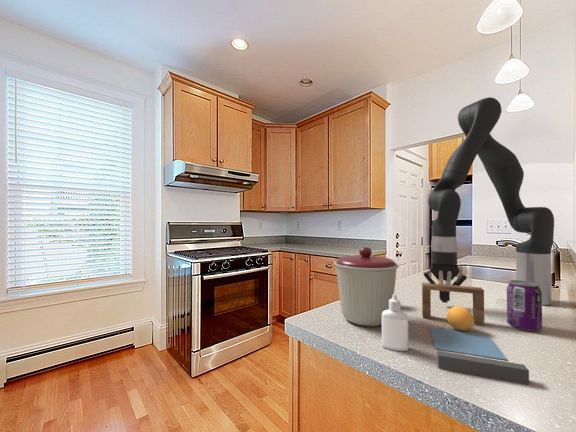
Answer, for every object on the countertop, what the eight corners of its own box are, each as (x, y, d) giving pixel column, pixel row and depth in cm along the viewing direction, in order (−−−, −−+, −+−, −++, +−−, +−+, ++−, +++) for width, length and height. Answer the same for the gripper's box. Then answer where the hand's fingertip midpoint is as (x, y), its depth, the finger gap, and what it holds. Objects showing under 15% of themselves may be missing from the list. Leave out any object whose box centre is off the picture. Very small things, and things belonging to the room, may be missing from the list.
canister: (367, 338, 66) (366, 252, 66) (321, 315, 81) (321, 245, 82) (413, 324, 75) (413, 248, 75) (364, 306, 91) (364, 243, 91)
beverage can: (549, 334, 68) (548, 286, 68) (517, 332, 70) (516, 285, 70) (530, 323, 75) (529, 280, 75) (501, 321, 77) (501, 279, 77)
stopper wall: (437, 363, 55) (437, 350, 55) (524, 378, 49) (524, 364, 49) (438, 368, 53) (438, 355, 53) (529, 384, 47) (528, 370, 47)
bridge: (422, 314, 82) (422, 282, 82) (481, 321, 76) (480, 287, 77) (423, 318, 79) (422, 285, 79) (484, 325, 74) (484, 290, 74)
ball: (444, 311, 76) (446, 301, 72) (469, 313, 74) (473, 303, 70) (447, 332, 72) (449, 323, 68) (473, 335, 70) (477, 326, 66)
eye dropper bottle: (401, 355, 58) (401, 299, 58) (378, 345, 62) (378, 293, 62) (411, 349, 60) (411, 295, 61) (388, 340, 65) (388, 290, 65)
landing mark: (429, 327, 72) (429, 326, 72) (487, 335, 68) (487, 334, 68) (435, 349, 60) (435, 348, 60) (507, 360, 55) (507, 359, 55)
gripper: (464, 249, 91) (465, 301, 91) (421, 248, 96) (421, 296, 96) (470, 252, 84) (470, 307, 84) (422, 250, 89) (423, 302, 89)
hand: (444, 301), depth 90 cm, fingers closed
